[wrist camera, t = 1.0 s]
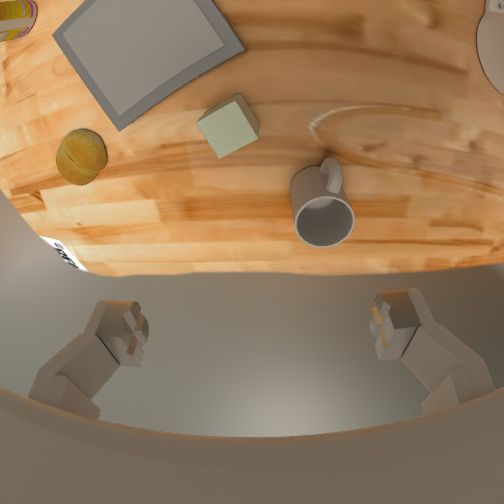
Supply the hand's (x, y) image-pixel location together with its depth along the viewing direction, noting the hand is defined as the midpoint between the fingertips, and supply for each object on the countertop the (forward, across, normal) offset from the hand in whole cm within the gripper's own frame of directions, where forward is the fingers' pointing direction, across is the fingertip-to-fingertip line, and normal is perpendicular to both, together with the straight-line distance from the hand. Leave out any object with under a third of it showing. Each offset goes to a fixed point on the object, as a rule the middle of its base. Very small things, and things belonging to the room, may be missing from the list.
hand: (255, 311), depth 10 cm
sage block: (+31, +3, 0) cm, 31 cm away
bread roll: (+32, +27, +2) cm, 42 cm away
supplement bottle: (+32, +33, -24) cm, 52 cm away
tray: (+31, +13, -13) cm, 36 cm away
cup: (+31, -8, +10) cm, 34 cm away
